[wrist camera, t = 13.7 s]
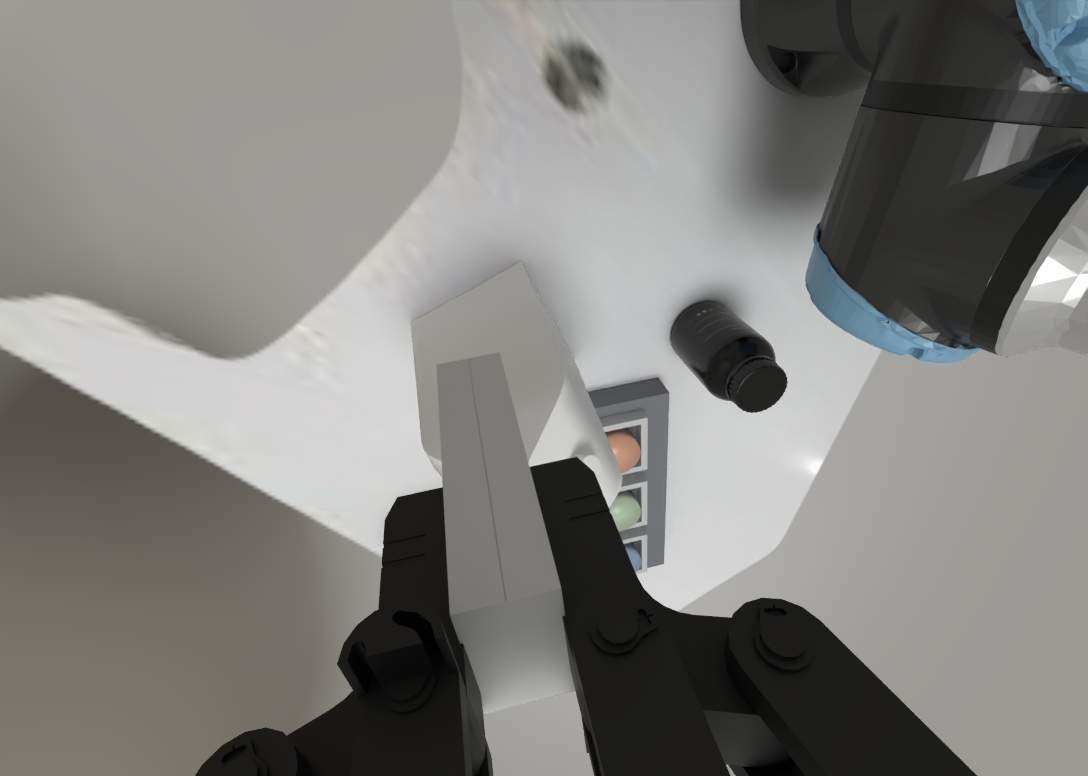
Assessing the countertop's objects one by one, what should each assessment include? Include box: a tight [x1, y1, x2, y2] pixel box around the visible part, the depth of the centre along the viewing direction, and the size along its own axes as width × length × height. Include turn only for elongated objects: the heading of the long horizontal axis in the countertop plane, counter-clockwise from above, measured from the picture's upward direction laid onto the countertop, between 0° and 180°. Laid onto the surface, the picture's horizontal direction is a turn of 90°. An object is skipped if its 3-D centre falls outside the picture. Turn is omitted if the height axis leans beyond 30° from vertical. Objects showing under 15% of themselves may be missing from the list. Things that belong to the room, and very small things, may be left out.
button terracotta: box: [605, 429, 641, 473], centre depth 55 cm, size 5×5×2 cm
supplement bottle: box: [671, 302, 787, 413], centre depth 50 cm, size 7×7×12 cm
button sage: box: [609, 491, 641, 531], centre depth 60 cm, size 5×5×2 cm
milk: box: [411, 262, 623, 507], centre depth 40 cm, size 12×12×26 cm
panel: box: [588, 378, 669, 574], centre depth 62 cm, size 13×28×4 cm, turn 6°
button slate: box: [624, 543, 641, 572], centre depth 66 cm, size 5×5×2 cm
